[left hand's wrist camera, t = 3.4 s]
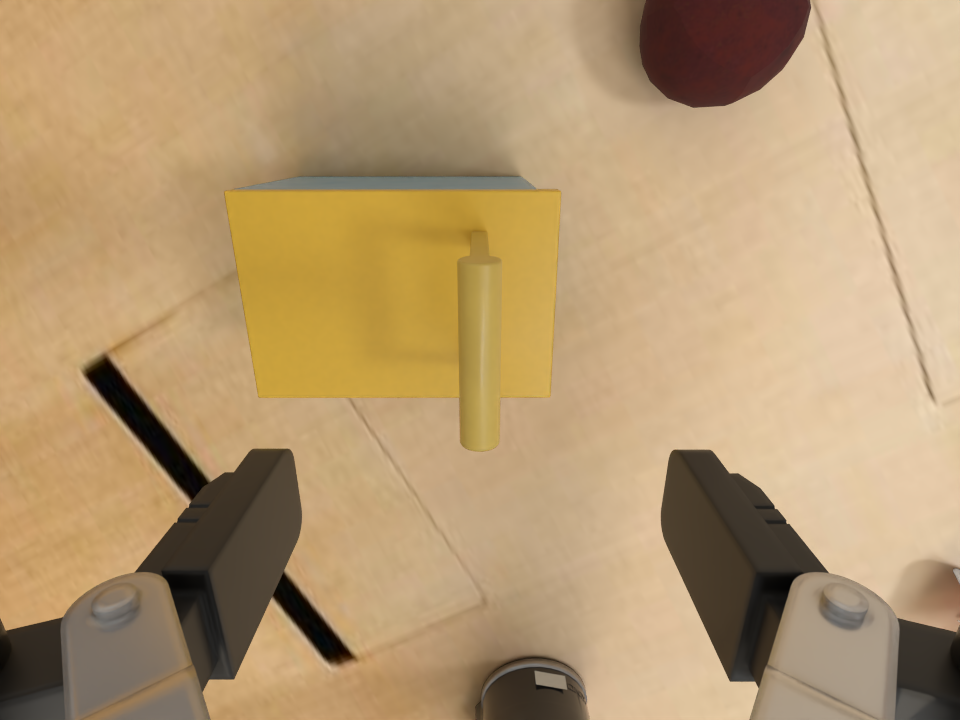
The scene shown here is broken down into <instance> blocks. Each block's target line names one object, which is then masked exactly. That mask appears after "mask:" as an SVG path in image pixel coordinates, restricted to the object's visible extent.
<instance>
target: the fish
mask: <svg viewBox="0 0 960 720" xmlns="http://www.w3.org/2000/svg"><path fill="white" fill-rule="evenodd" d="M953 572H954V574H955V576H956V578H957V580H958V582H959V584H960V569H956V568H955V569H953ZM957 621H959V620H957ZM959 622H960V621H959Z"/></svg>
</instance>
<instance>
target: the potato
mask: <svg viewBox="0 0 960 720" xmlns="http://www.w3.org/2000/svg"><path fill="white" fill-rule="evenodd" d="M810 10H811V4H810V0H646V3H645V6H644V11H643V16H642V21H641V25H640V52H641V58H642V65H643V67H644V69H645V71H646V73H647V75H648V77H649V80H650V81H651V82H652V83H653V84H654V85H655V86H656V87H657V88H658V89H659V90H660V91H661V92H662V93H663V94H664V95H665V96H666V97H667V98H669V99H671V100H674V101H677V102H680V103H682V104H685V105H688V106H690V107H693V108H694V107H712V106H725V105H728V104H731V103H734V102H736V101H738V100H740V99H742V98H744V97H746V96H748V95H750V94H752V93H754V92H756V91H758V90H760V89H761V88H762V87H763V86H764V85H766V84H767V83H768V82H769V81H770V80H771V79H772V78H774V77H775V76H776V75H777V74H778V73H779V72H780V71H781V70H782V69H783V68H784V67H785V65H786V64H787V62H788V61H789V59H790V58H791V56H792V55H793V53H794V52H795V50H796V48H797V47H798V45H799V44H800V42H801V41H802V39H803V38H804V34H805V30H806V26H807V22H808V18H809V14H810Z"/></svg>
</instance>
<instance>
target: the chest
mask: <svg viewBox="0 0 960 720" xmlns="http://www.w3.org/2000/svg"><path fill="white" fill-rule="evenodd" d="M237 189H536V188H535V187H534V186H532V185H531V184H530V183H529V182H528V181H526V180H525V179H524V178H523V177H294V178H289V179H284V180H279V181H274V182H268V183H263V184H258V185H253V186H247V187H242V188H237Z"/></svg>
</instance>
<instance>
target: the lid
mask: <svg viewBox="0 0 960 720" xmlns="http://www.w3.org/2000/svg"><path fill="white" fill-rule="evenodd" d="M224 195H225V201H226V207H227V213H228V219H229V225H230V231H231V237H232V243H233V249H234V255H235V260H236V266H237V272H238V278H239V284H240V290H241V296H242V302H243V308H244V314H245V320H246V326H247V332H248V338H249V344H250V350H251V356H252V362H253V368H254V374H255V380H256V385H257V391H258V397H259V398H459V407H460V443H461V444H462V446H463V447H464V448H466V449H468V450H471V451H478V452H482V451H488V450H492V449H494V448H495V447H496V446H497V445H498V444H499V441H500V397H550V394H551V375H552V356H553V337H554V318H555V299H556V281H557V262H558V243H559V224H560V205H561V191H559V190H558V189H232V190H227V191H224Z"/></svg>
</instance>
